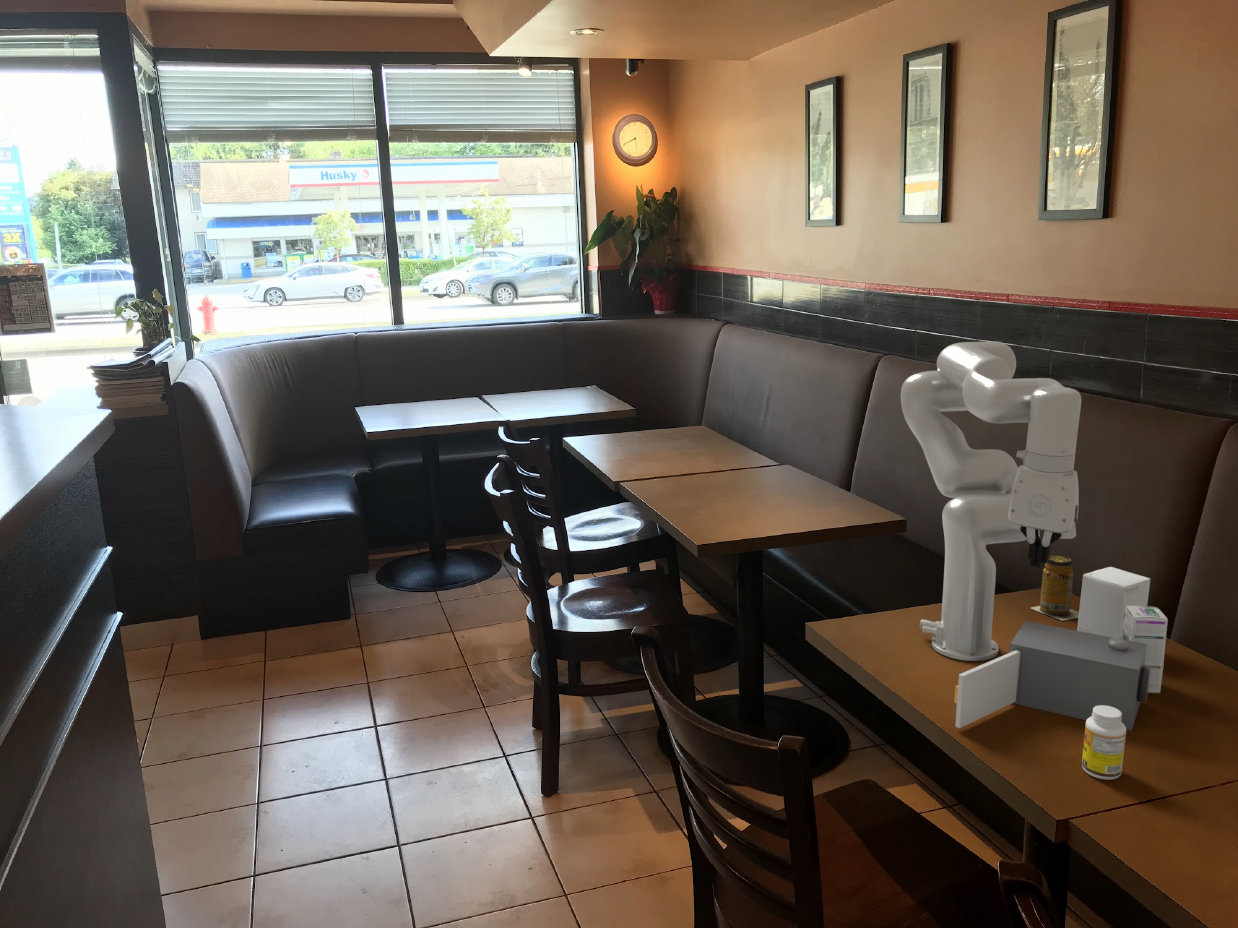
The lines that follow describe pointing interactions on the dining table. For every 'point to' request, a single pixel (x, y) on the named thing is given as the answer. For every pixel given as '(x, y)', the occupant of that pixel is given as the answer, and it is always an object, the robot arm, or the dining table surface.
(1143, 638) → the syrup box
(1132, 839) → the dining table surface
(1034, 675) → the box
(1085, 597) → the supplement box
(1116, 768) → the supplement bottle
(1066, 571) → the condiment
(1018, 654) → the side door
